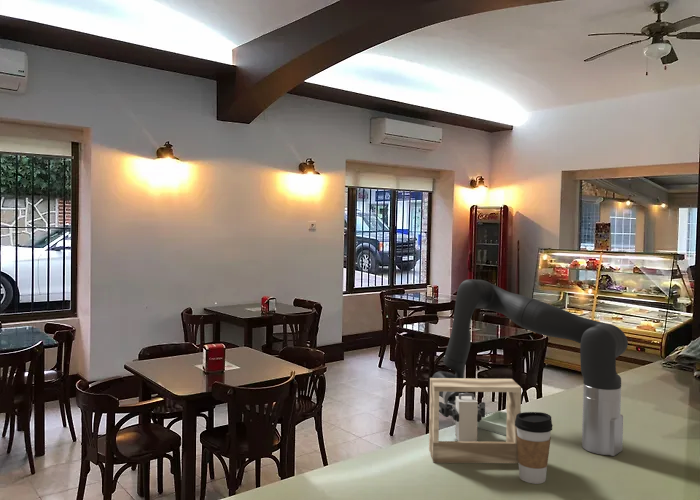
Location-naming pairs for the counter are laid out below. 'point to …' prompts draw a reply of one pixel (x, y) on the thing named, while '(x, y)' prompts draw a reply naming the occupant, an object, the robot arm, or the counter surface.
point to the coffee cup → (533, 445)
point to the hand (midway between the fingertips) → (468, 418)
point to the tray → (494, 422)
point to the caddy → (466, 417)
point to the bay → (474, 449)
